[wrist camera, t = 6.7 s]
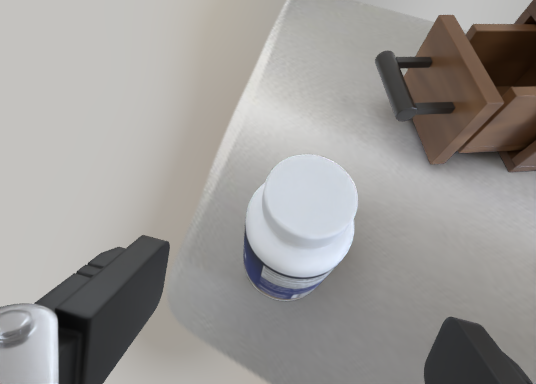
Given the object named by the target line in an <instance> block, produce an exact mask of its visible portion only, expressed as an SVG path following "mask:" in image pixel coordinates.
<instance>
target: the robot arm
mask: <svg viewBox="0 0 536 384" xmlns="http://www.w3.org/2000/svg"><path fill="white" fill-rule="evenodd" d="M169 249H170V245H169V242H168V241H164V240H160V239H156V238H153V237H149V236H145V235H142V236H141V237H139V238H138V239H137V240H136V241H134V242H133V243H132V244H131V245H130V246H128V247H127V248H126V249H125V248H122V247H117V248H114V249H111V250H109V251H106V252H103V253H101V254H99V255H98V256H96V257H95V258H94V259H92V260H91V261H90V262H89V263H88V265H85V266H83V267H82V268H81V269H79V270H78V271H77V273H76V274H75V273H74V274H73V275H71V276H70V277H69V278H67V279H66V280H65V281H63V282H62V283H61V284H59V285H58V286H57V287H55V288H54V289H53V290H51V291H50V292H49V293H48V294H46V295H45V296H44V297H42V298H41V299H40V300H38V301H37V302H35V303H34V304H13V305H7V306H3V307H0V384H103V383H104V381H105V380H106V378H107V377H108V375H109V374H110V372H111V371H112V370H113V369H114V367H115V366H116V364H117V363H118V361H119V360H120V359H121V357H122V356H123V354H124V353H125V352H126V350H127V349H128V347H129V346H130V345H131V343H132V342H133V340H134V339H135V337H136V336H137V335H138V333H139V332H140V331H141V329H142V328H143V326H144V325H145V324H146V322H147V321H148V319H149V318H150V317H151V315H152V314H153V312H154V311H155V309H156V308H157V305H158V303H159V301H160V298H161V295H162V292H163V287H164V281H165V274H166V268H167V262H168V255H169ZM424 379H425V384H533V383H532V382H531V380H530V379H529V378H528V377H527V375H526V374H525V373H524V372H523V370H522V369H521V368H520V367H519V365H518V364H516V363H515V362H514V361H513V360H512V359H511V358H509V357H508V356H507V355H506V354H505V353H504V352H502V351H501V349H500V348H499V347H498V346H497V344H496V343H495V342H494V341H493V339H492V338H491V337H490V335H489V334H488V333H487V332H486V330H485V329H484V328H483V327H482V326H481V325H480V324H477V323H473V322H469V321H465V320H462V319H458V318H454V317H448V318H447V319H446V320H445V321H444V322H443V324H442V326H441V329H440V331H439V333H438V335H437V337H436V340H435V342H434V344H433V346H432V349H431V351H430V353H429V355H428V357H427V360H426V363H425V367H424Z"/></svg>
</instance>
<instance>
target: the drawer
mask: <svg viewBox="0 0 536 384" xmlns="http://www.w3.org/2000/svg"><path fill="white" fill-rule="evenodd" d="M375 64H376V66H377V69H378V72H379V74H380V77H381V80H382V82H383V85H384V88H385V90H386V93H387V96H388V98H389V101H390V104H391V107H392V109H393V112H394V115H395V117H396V119H397V120H398V121H407V120H409V119H411V118H412V120H413V122H414V125H415V127H416V130H417V132H418V135H419V137H420V140H421V142H422V145H423V147H424V150H425V152H426V155H427V157H428V160H429V162H430V164H444V163H445V162H446V161H447V160H448V159H449V158H450V157H451V156H452V155H453V154H454V153H455V152H456V151H457V150H458V152H459V153H471V152H491V151H511V150H524V149H525V148H526V147H528V146H529V145H530V144H532V143H533V142H534V141H535V140H536V24H473V25H472V26H471V28H470V29H469V31H468V32H467V33H466V35H465V34H464V32H463V30H462V28H461V27H460V25H459V23H458V21H457V20H456V18H455V16H454V15H439V16H438V18H437V19H436V21H435V23H434V25H433V26H432V28H431V30H430V32H429V33H428V35H427V37H426V39H425V40H424V42H423V44H422V46H421V47H420V49H419V51H418V53H417V55H416V56H415V57H396V58H395V55H394V53H393V52H392V51H384V52H382V53H380V54H379V55H378V56H377V57H376V59H375ZM400 68H409V69H408V70H407V72H406V74H405V76H404V77H403V75H402V72H401V70H400Z"/></svg>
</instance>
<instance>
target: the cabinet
mask: <svg viewBox="0 0 536 384" xmlns="http://www.w3.org/2000/svg"><path fill="white" fill-rule="evenodd" d="M514 24H536V0H533V1H532V2H531V3H530V5H529V6H528V7H527V9H526V10H525V11H524V12H523V13H522V14H521V16H520V17H519V18H518V20H517V21H516V22H515V23H514ZM498 152H499V154H500V156H501V158H502V160H503V162H504V164H505V166H506V168H507V170H508V172H518V171H535V170H536V140H535V141H534V142H533V143H532V144H530V145H529V146H528V147H526V148H525V149H524V150H511V151H498Z"/></svg>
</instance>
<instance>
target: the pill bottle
mask: <svg viewBox="0 0 536 384" xmlns="http://www.w3.org/2000/svg"><path fill="white" fill-rule="evenodd" d="M357 208H358V194H357V189H356V186H355V184H354V182H353V180H352V178H351V177H350V175H349V174H348V173H347V172H346V171H345V170H344V169H343V168H342V167H341V166H340V165H339V164H337V163H336V162H334V161H332V160H330V159H328V158H325V157H322V156H318V155H313V154H300V155H295V156H292V157H289V158H286V159H284V160H283V161H281V162H280V163H278V164H277V165H276V166H275V167H274V168H273V169H272V170H271V172H270V173H269V175H268V177H267V179H266V182H265V183H264V184H263V185H261V186H260V187H259V188H258V189H257V191H256V192H255V193H254V195H253V196H252V198H251V200H250V202H249V205H248V208H247V213H246V220H245V237H244V267H245V271H246V274H247V276H248V278H249V280H250V282H251V283H252V284H253V286H254V287H255V288H256V289H257V290H258V291H259V292H261V293H262V294H264V295H265V296H267V297H270V298H272V299H275V300H280V301H291V300H296V299H299V298H302V297H304V296H306V295H308V294H309V293H311V292H312V291H313V290H314V289H315V288H316V287H317V286H318V285H319V284H320V283H321V282H322V281H323V280H324V279H325V278H326V277H327V276H328V274H329V273H330V272H331V271H332V270H333V269H334V268H335V267H336V266H337V265H338V264H339V263H340V262H341V260H342V259H343V258H344V256H345V255H346V254H347V252H348V250H349V248H350V246H351V243H352V240H353V236H354V217H355V214H356V211H357Z"/></svg>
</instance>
